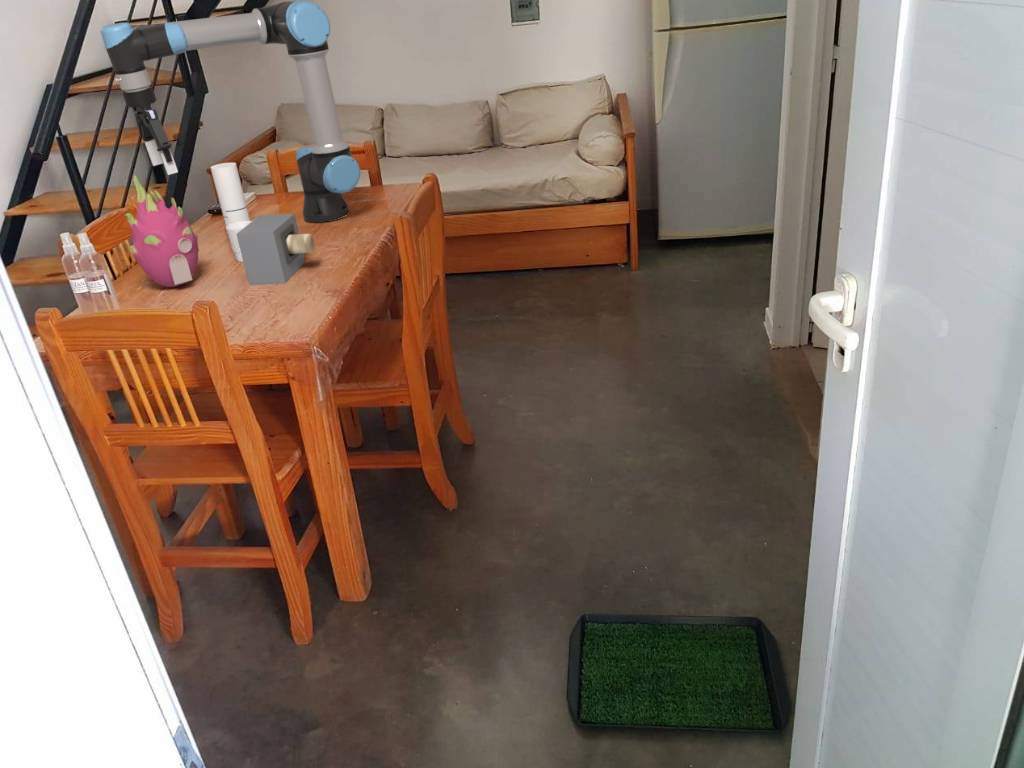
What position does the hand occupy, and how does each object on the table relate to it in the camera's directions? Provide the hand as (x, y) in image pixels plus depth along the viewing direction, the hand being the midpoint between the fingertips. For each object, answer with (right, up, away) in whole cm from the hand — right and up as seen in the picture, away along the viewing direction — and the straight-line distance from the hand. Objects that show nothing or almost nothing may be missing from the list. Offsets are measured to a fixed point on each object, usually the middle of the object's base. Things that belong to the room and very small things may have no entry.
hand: (165, 168), depth 215 cm
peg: (+37, -24, -4) cm, 44 cm away
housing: (+31, -29, -1) cm, 43 cm away
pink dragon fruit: (+5, -33, -3) cm, 33 cm away
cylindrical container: (+15, -18, +22) cm, 32 cm away
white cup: (+19, -23, +13) cm, 32 cm away
